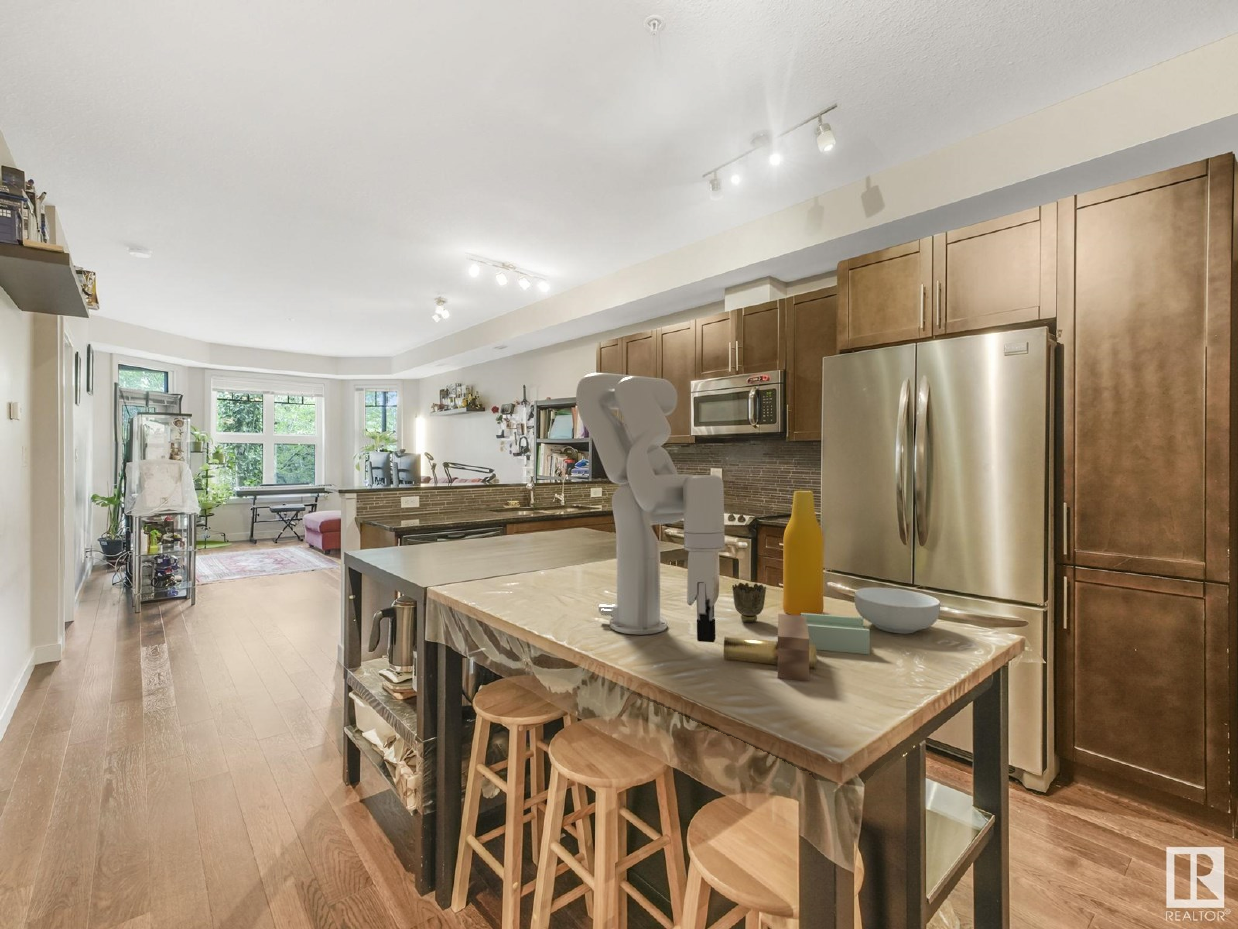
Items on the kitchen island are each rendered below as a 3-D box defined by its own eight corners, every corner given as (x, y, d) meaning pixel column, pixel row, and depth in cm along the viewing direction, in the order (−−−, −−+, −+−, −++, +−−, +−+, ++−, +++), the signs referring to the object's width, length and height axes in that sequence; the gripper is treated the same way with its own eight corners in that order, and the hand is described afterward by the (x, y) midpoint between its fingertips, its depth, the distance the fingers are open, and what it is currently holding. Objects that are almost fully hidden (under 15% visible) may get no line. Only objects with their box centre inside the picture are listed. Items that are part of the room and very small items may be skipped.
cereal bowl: (912, 646, 110) (912, 610, 110) (838, 625, 124) (838, 593, 124) (955, 631, 120) (956, 598, 119) (882, 613, 133) (882, 583, 133)
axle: (723, 662, 102) (723, 639, 102) (725, 656, 105) (725, 634, 106) (816, 671, 97) (816, 647, 97) (815, 665, 101) (815, 642, 101)
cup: (729, 623, 125) (729, 588, 125) (735, 615, 131) (735, 581, 131) (763, 627, 122) (763, 591, 122) (768, 618, 129) (768, 584, 129)
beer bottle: (811, 606, 139) (812, 490, 139) (831, 617, 130) (831, 492, 130) (776, 608, 138) (776, 490, 137) (793, 618, 129) (793, 492, 128)
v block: (802, 648, 109) (802, 625, 109) (800, 634, 117) (800, 612, 117) (869, 654, 105) (869, 630, 105) (862, 639, 114) (862, 617, 114)
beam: (777, 677, 94) (777, 636, 94) (778, 650, 108) (778, 614, 107) (808, 681, 93) (809, 639, 93) (805, 652, 106) (805, 616, 106)
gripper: (690, 536, 112) (692, 628, 112) (677, 546, 98) (679, 651, 98) (728, 537, 110) (730, 631, 110) (720, 547, 96) (722, 654, 96)
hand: (706, 640), depth 104 cm, fingers closed
